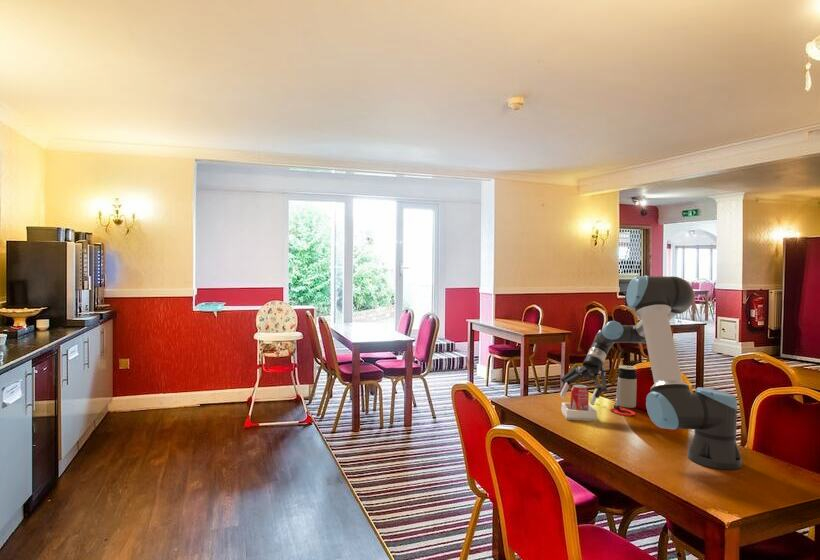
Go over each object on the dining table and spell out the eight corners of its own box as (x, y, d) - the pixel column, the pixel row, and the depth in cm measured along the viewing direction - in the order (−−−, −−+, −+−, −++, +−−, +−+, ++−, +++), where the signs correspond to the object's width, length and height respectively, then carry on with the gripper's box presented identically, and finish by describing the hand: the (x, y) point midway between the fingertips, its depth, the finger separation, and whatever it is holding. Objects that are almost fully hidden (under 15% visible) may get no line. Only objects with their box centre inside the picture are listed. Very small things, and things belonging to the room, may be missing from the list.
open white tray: (596, 421, 206) (597, 411, 206) (566, 419, 207) (566, 410, 207) (589, 413, 218) (590, 403, 218) (561, 411, 219) (561, 402, 219)
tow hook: (639, 416, 217) (621, 409, 225) (641, 386, 216) (623, 381, 224) (626, 418, 213) (608, 411, 221) (628, 388, 212) (610, 382, 220)
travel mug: (636, 409, 226) (638, 369, 226) (617, 407, 229) (619, 367, 229) (634, 404, 234) (636, 366, 234) (616, 402, 236) (617, 364, 236)
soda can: (573, 410, 217) (574, 383, 217) (590, 413, 213) (591, 385, 213) (568, 414, 212) (569, 386, 211) (585, 417, 208) (586, 388, 207)
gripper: (565, 351, 228) (546, 388, 218) (619, 359, 210) (602, 400, 200) (571, 361, 232) (553, 399, 222) (625, 370, 214) (607, 411, 204)
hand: (576, 399), depth 211 cm, fingers open, 13 cm apart
